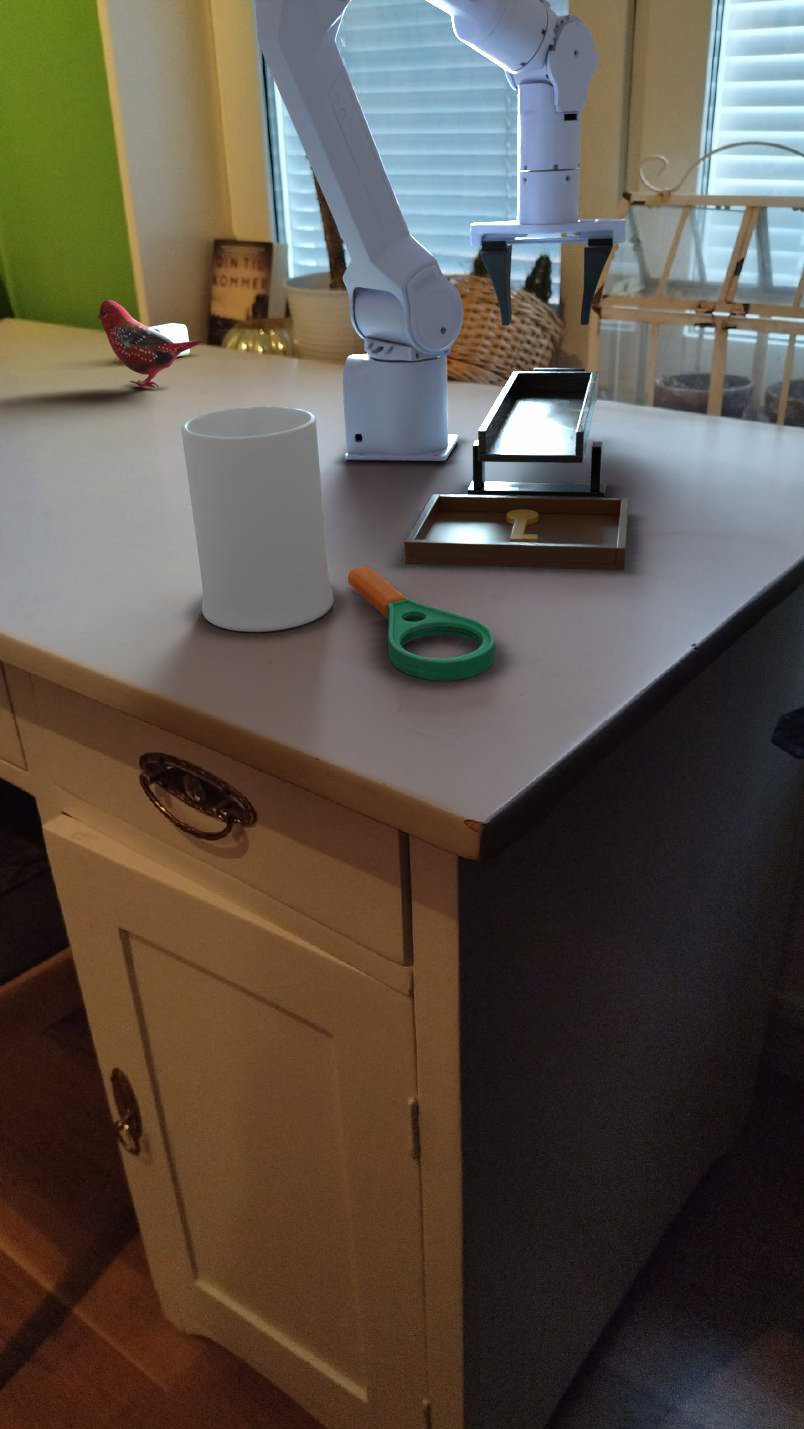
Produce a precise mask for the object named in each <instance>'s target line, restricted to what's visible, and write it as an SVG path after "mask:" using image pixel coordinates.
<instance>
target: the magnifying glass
mask: <svg viewBox="0 0 804 1429" xmlns="http://www.w3.org/2000/svg"><path fill="white" fill-rule="evenodd" d="M347 582H348V584H349V586H350V587H352V588H353V589H354V590H355V591H356V592H357V593H358V594H359V595H360V596H361V597H362V598H364V599H365V600H366V602H368V603H369V604H370V605H371V606H372V607H373V608H375V609H376V611H378V612H379V613H380V614H381V616H383V617H384V618H385V619H386V620H387V621H388V636H387V639H388V640H387V645H388V658H389V660H390V662H391V663H392V665H393V666H394V667H396V668H397V669H398V670H400V671H401V672H403V673H405V674H407V675H410V676H413V677H415V678H419V679H425V680H429V681H431V680H432V681H442V682H444V681H446V682H447V681H448V682H449V681H458V680H464V679H468V678H471V677H475V676H477V675H479V674H481V673H484V672H485V671H487V670H488V669H489V668H490V667H491V666H492V665H493V663H494V660H495V650H496V639H495V635H494V633H493V631H492V630H491V629H490V628H489V627H488V626H487V625H486V624H484V623H483V622H481V621H479V620H476V619H474V618H471V617H468V616H465V615H463V614H458V613H455V612H451V611H449V610H446V609H445V610H444V609H441V608H439V607H434V606H431V605H429V604H425V603H421V602H418V601H415V600H412V599H411V598H407V596H405V595H404V594H403V593H402V592H400V591H399V590H398V589H397V588H396V587H395V586H394V585H393V584H391V583H390V582H389V581H388V580H386V579H385V578H384V577H383V576H382V575H380V574H379V573H378V572H377V571H376V570H374V569H373V568H372V566H369V565H364V566H359V567H358V566H357V567H354V568H352V569H351V570H350V571H349V573H348V574H347ZM434 635H435V636H436V635H451V636H458V637H462V638H466V639H469V640H472V641H474V642H475V643H477V644H478V645H479V647H478V648H477V649H476V650H474V651H472V652H469V653H467V654H463V655H459V656H454V657H426V656H421V655H417V654H415V653H412V652H410V651H407V650H406V649H404V648H403V647H404V645H406V644H407V643H409V642H411V641H412V640H415V639H418V638H421V637H426V636H427V637H428V636H434Z"/></svg>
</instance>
